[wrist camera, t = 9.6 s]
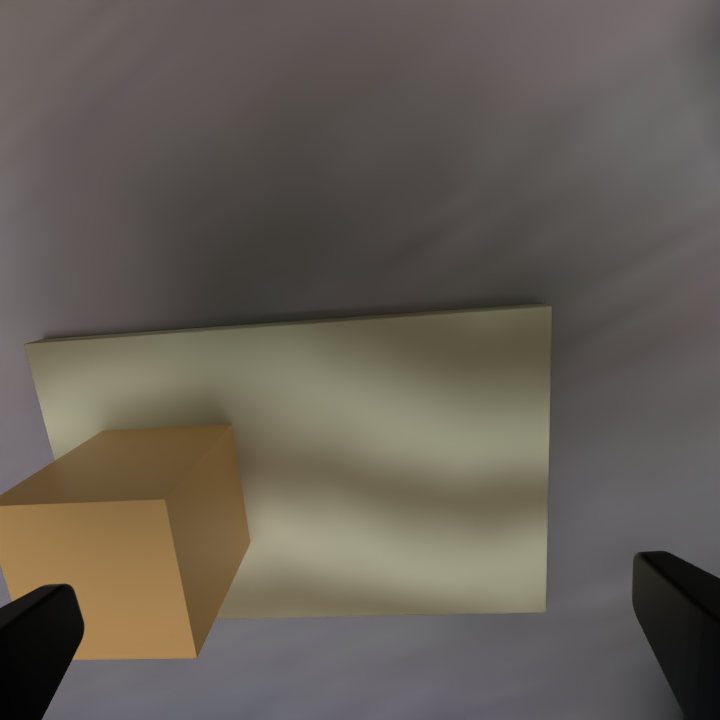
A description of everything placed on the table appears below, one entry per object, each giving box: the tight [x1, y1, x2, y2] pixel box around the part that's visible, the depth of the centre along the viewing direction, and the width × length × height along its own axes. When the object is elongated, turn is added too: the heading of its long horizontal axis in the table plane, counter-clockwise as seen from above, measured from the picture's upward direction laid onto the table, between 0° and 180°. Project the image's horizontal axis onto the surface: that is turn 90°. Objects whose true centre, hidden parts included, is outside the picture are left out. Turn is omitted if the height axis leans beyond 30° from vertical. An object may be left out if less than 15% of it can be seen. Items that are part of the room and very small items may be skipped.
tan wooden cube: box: [0, 424, 250, 660], centre depth 16 cm, size 5×5×6 cm
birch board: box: [24, 303, 552, 619], centre depth 19 cm, size 13×20×1 cm, turn 95°
